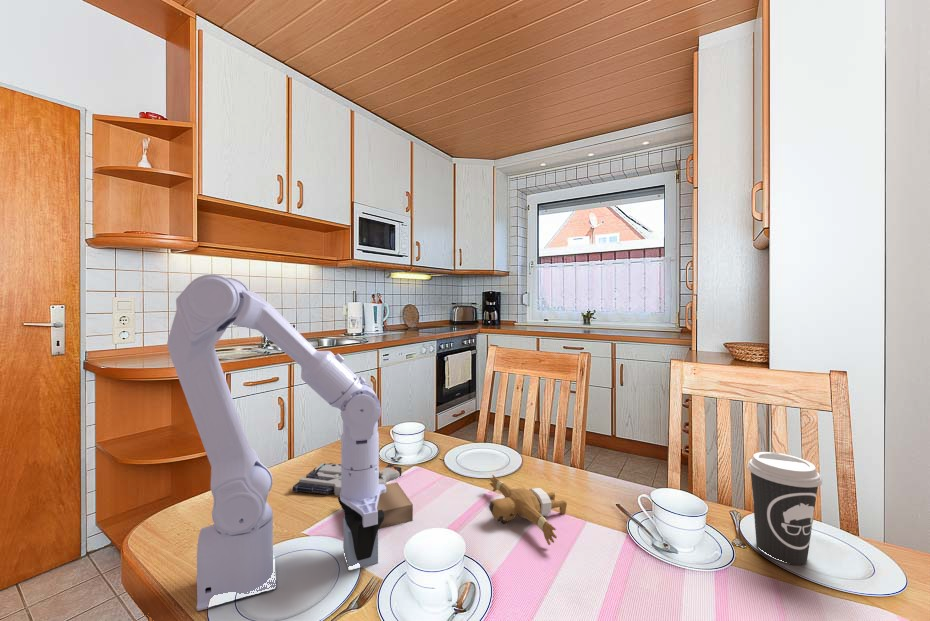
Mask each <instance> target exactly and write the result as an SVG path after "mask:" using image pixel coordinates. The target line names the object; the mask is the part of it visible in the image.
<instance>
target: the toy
mask: <svg viewBox="0 0 930 621" xmlns="http://www.w3.org/2000/svg"><path fill="white" fill-rule="evenodd" d="M489 480H490V481H491V482H489V485H490V486H491V487H492V488H493V489H492V492H496V491H498V492H500V493H502V496H503V498H496V499H493V500H492V501H490V503H489V506H488V507H489V511H490V513H491V515H492V517H493V518H494V519H495V520H496V521H497V522H498V523H502V524H506V523H508V521H512V520H513V519H515V518H516V516H519V517H521V518H524V519H525V520H528V521H529V522H530V523H532V524H534V525H536V526H537V528H539V529H540V531H541V532H542V533H543V536H544V539H545V541H546V543H547V545H549V546H550V545H552V544H551V543H553V544H554V543H555V540H554V539H557V535H556V534H555V532H554V531H556V530H557V529H556V527H554V526H553V525H552V524H551V523H550V522H548V520H547V519H546V518H545V516H546V517H547V516H549V515H550V514H551V512H552V511H551V510H552V509H556V508H559V512H560V514H561V515H565V514H566V512H567V505H568V503H567V501H566V500H555V499H556V493H555V492H553V491H551V492H546V491H544V490H543V489H542V488H541V487H535V488H530V489H527V488H524V487H522V488H519V487H518V488H511V487H510V486H508V484H506V483H505V482H503V481H501V480H500V479H499V478H498V477H497V476H495V475H494V474H492V478H491V477H490V478H489Z"/></svg>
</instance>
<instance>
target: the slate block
mask: <svg viewBox="0 0 930 621" xmlns="http://www.w3.org/2000/svg"><path fill="white" fill-rule="evenodd" d="M342 527H343V528H342V530H343V531H342V534H343V535H342V536H343V537H342V538H343V540H342V541H343V542H342V543H343V544H342V546H343V547H342V549H344V553H345V557H346V560H347V564H348V567H349V566H353V565H355V564H357V563H359V564H360V566H361V568H360V569H363V568H364V567H365V568H366V567H370V566H372V565H376V564H379V531H378V532H377V535H376V538H375V542H374V547H373V551H372V555H371V557H370V558H367V559H363V560H359V561H358V560H357V558H356V554H355V550H354V543H353V537H352V533H351V531H350V529H349V527H348V525H347V523H346V521H345V516H344V517H343V518H342Z"/></svg>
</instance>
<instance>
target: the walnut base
mask: <svg viewBox="0 0 930 621" xmlns="http://www.w3.org/2000/svg"><path fill="white" fill-rule="evenodd" d="M385 486H386V492H385V493H382V494H380V496H379V501H378V506H377V511H378V510H383V512H384V520H383V522H382V523H381V525H380V527H379V529H382V528H387V527H390V526H391V527H392V526H396V525H398V524H402V523H407V522H411V521H414V518H413V517H414V515H413V514H414V513H413V512H414V511H413V510H414V508H413V507H414V506H413V503H412V501H411V500H410V498H409V497H408V495H407V494H406V493H405V492H404V490H403V488H402V487H401V486H400V485H399V482H391V483H386V485H385Z"/></svg>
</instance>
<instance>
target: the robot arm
mask: <svg viewBox="0 0 930 621" xmlns="http://www.w3.org/2000/svg"><path fill="white" fill-rule="evenodd" d="M175 305H176V310H175V313H174V318H173V321H172V324H171V328H170V332H169V335H168V338H167V343H166V344H167V351H168V354H169V356H170V359H171V361H172V364H173V367H174V370H175V373H176V375H177V377H178V380H179V384H180V386H181V388H182V391H183V394H184V396H185V400H186V402H187V405H188V408H189V410H190V412H191V415H192V418H193V421H194V424H195V427H196V429H197V431H198V435H199V437H200V440H201V443H202V445H203V449H204V451H205V453H206V457H207V460H208V462H209V464H210V467H211V470H210V491H211V494H212V498H213V506H212V509H211V518H212V522H213V524H211V525H207V526H205V527H202V528H200V530H199V533H198V534H199V535H198V539H197V547H196V548H197V550H196V579H195V580H196V594H197V596H196V597H197V600H196V610H197V611H199V612H200V611H203V610H206V609H208V608H207V607H208V603H209V601H210V599H211V598H212V597H213V596H214V595H218V594H223V593H228V592H236V593H239V594H241V593H244V594H249V593H250V591H253V590H254V591H255V589H256V588H257V589H258V587H259V590H257V589H256V591H257V592H258V591H262V590H265V589H269V588H270V587H271V588H272V587H273V588H274V587H275V586H276V585H275V584H276V581H277V579H276V580H275V578H274V580H275V583H274V580H273V582H272V580H271V582H270V580H269V582H267V580H268V579H269V578H271V575H272V573H273V555H274V524H273V523H274V519H273V518H274V514H273V513H274V512H273V509H272V507H271V506H270V504H269V503H268V498H269V494H270V492H271V489H272V487H273V481H274V478H273V474H272V472H271V471H270V469H269V468H268V467H267V466H265V465H264V464H263V462H261V460H260V459H259V456H258V454H257V452H256V450H254V449H253V448H252V447H251V446H250V444H249V440H248V438H247V435H246V432H245V429H244V427H243V424H242V421H241V418H240V416H239V413H238V409H237V407H236V404H235V401H234V399H233V396H232V393H231V390H230V388H229V385H228V383H227V382H228V381H227V378H226V376H225V373H224V371H223V368H222V365H221V363H220V360H219V357H218V354H217V351H216V348H215V346H216V345H217V344H218V342H219V340H220V339H221V338H222V336H223V334H224V333H225V332H226V330H227V328H228V327H229V326H230V325H231V324H232V325H233V326H237V327H242V328H247V329H252V330H256V331H259V332H260V333H261V334H262V335H263V336H264V337H266V338H267V339H268V340H269V341H270V342H271V343H273V344H274V345H275V346H276V347H278V348H279V349H280V350H281V351H282V352H284V353H285V354H286V355H287V356H288V357H289V358H290V359H292V360H293V361H294V362H295V363H297V364H298V365H299V366H300V368H301V373H300V378H301V381H303V382H304V383H305V384H306V385H307V386H308V387H310V388H311V389H312V390H313V391H314V392H315V393H316V394H317V395H319V396H320V397H321V398H322V399H323V400H324V401H325V402H327V404H329V406H331V407H332V408H337V409H339V410H340V417H341V421H342V432H341V436H340V445H341V446H340V447H341V448H340V450H341V451H340V456H341V457H340V460H341V461H340V464H341V492H340V496H337V500H338V503H339V505H340V506H341V508H342V510H343V513H344V517H345V521H346V523H347V525H348V527H349V529H350V531H351V533H352V537H353V543H354V550H355V554H356V558H357V560H358V561H359V560H363V559H367V558H370V557H371V555H372V551H373V547H374V542H375V538H376V535H377V532H378V533H379V529H380V528H379V527H380V525H381V523H382V522H383V520H384V512H383V510H378V511H377V506H378V501H379V496H380V494H382V493H385V492H386V486H385V485H384V484H379V471H380V468H379V466H380V464H379V463H380V459H379V458H380V442H379V441H380V440H379V439H380V435H379V434H380V433H379V430H378V428H379V419H380V418H381V415H382V412H383V409H382V407H381V403H380V400H379V398H378V396H377V394H376V392H375V390H374V389H373V388H372V387H371V385H370V384H369V383H366V382H367V381H366V379H365V377H363V376H362V375H361V376H360V377H358V375H357V374H355V373H354V372H353V371H352V370H351V369H350V368H349V367H348V366H347V365H346V364H344V361H345V358H344V357H343V356H342V355H341V354H340V353H337V354H334V352H332V351H331V350H317V349H316V348H315V347H314V345H312V344H311V343H310V342H309V341H308V340H307V339H306V338H305V337H304V336H303V335H302V334H301V333H300V332H299V331H298V330H297V329H296V328H295V327H294V326H293V325H292V324H291V323H290V322H289V321H288V320H287V319H286V318H285V316H283V315H282V314H281V313H280V312H279V311H278V310H277V309H276V308H275V307H274V306H272V305H271V304H270V303H269V302H268V301H267V300H266V299H264V298H263V297H261V296H260V295H259V294H258V293H256V292H254V291H253V290H249V288H248V287H247V285H246V284H244V282H242V281H240V280H238V279H235V278H233V277H225V276H223V275H219V274H212V273H211V274H203V275H201V276H198V277H196V278H194V279H193V280H191V282H190V283H189V284H188V285H187V286H186V287H185V288H184V289H183V290H182V291H181V293H180V294H179V295H178V296H177V297H176V299H175ZM274 573H275V572H274ZM274 576H275V575H274ZM272 579H273V578H272ZM266 582H267V584H268V583H269V584H270V585H271V584H272V585H271V586H270V587H269V588H267V585H266V587H265V585H264V587H263V584H264V583H266ZM269 584H268V585H269ZM273 584H274V585H273ZM260 586H262V587H263V588H262V587H261V589H260ZM247 592H248V593H247ZM251 593H252V592H251ZM253 593H254V592H253Z"/></svg>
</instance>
